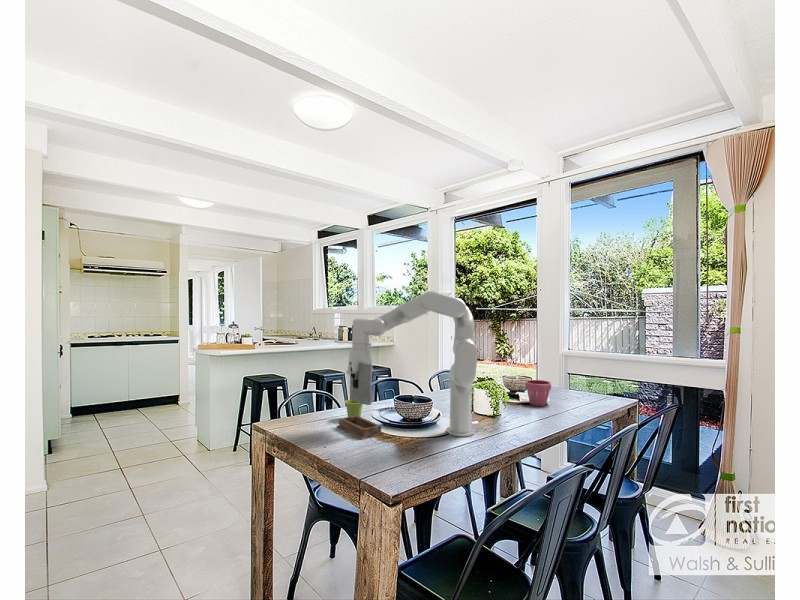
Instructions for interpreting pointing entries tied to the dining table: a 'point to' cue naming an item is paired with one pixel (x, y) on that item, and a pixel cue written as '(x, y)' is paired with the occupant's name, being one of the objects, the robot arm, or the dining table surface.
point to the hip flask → (362, 385)
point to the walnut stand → (359, 427)
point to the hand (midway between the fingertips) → (359, 387)
